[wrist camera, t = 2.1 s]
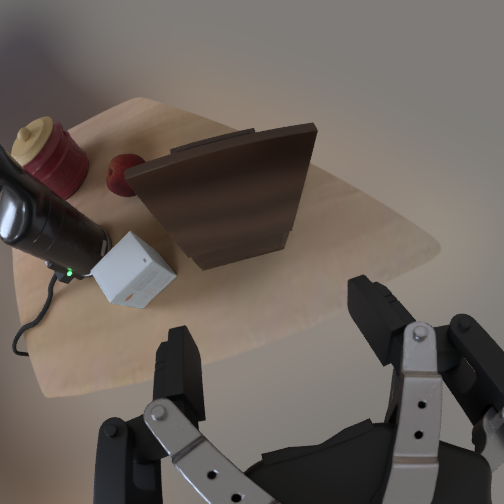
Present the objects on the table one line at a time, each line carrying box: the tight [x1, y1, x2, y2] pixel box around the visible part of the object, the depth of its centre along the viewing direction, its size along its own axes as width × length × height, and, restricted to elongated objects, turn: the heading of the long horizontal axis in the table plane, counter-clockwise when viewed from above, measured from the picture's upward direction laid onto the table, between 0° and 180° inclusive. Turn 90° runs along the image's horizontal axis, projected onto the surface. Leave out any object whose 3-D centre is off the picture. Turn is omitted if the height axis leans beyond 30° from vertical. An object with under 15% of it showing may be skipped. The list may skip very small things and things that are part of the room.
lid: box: [125, 123, 318, 258], centre depth 25 cm, size 18×13×1 cm
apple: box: [106, 154, 146, 197], centre depth 42 cm, size 7×8×8 cm
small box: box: [91, 231, 177, 309], centre depth 36 cm, size 8×6×10 cm
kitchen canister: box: [11, 117, 89, 200], centre depth 39 cm, size 13×13×18 cm
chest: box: [170, 128, 289, 270], centre depth 40 cm, size 17×13×9 cm
